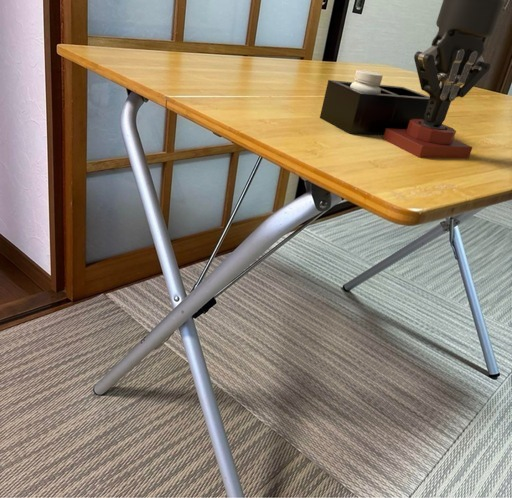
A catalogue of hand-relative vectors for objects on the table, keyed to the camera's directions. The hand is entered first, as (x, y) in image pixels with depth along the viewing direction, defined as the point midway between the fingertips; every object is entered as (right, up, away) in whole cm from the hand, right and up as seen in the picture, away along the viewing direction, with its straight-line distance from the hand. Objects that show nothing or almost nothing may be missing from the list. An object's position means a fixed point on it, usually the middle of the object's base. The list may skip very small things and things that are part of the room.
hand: (432, 124), depth 75 cm
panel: (0, -3, +2) cm, 4 cm away
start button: (0, -2, +1) cm, 2 cm away
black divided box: (-7, +2, +8) cm, 11 cm away
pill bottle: (-10, +1, +7) cm, 12 cm away
